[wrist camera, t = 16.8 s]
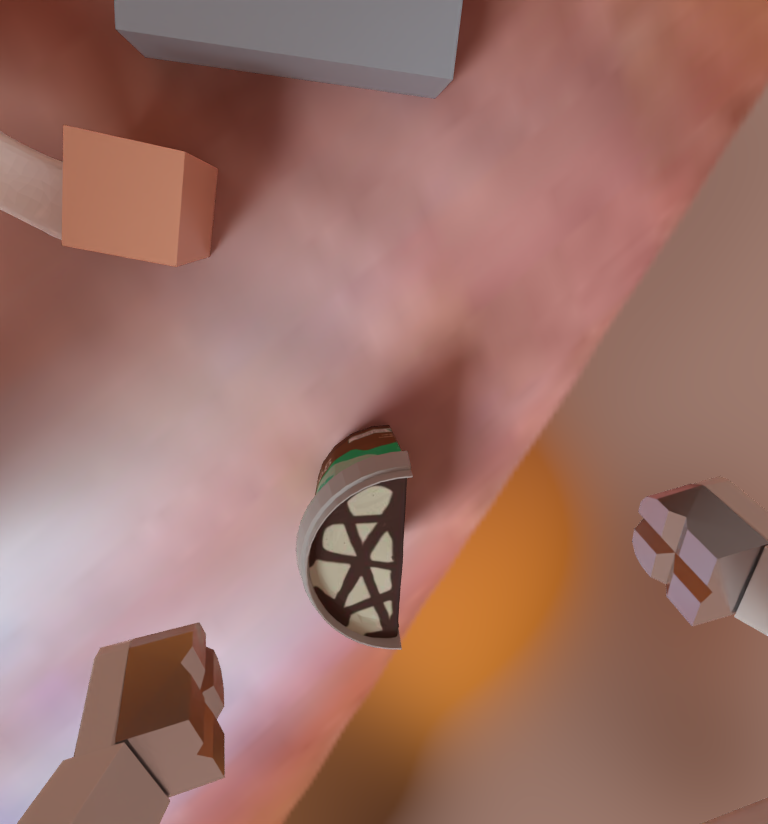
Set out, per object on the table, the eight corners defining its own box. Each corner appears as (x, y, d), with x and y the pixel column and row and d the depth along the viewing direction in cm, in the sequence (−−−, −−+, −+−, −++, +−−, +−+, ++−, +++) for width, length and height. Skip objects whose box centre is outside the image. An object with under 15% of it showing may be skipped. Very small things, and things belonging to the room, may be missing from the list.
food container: (299, 404, 36) (292, 467, 27) (390, 404, 37) (413, 466, 28) (301, 560, 40) (295, 662, 31) (382, 557, 41) (401, 656, 32)
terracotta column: (122, 240, 32) (61, 245, 24) (127, 148, 30) (63, 124, 23) (209, 256, 33) (176, 266, 25) (218, 168, 31) (185, 151, 24)
